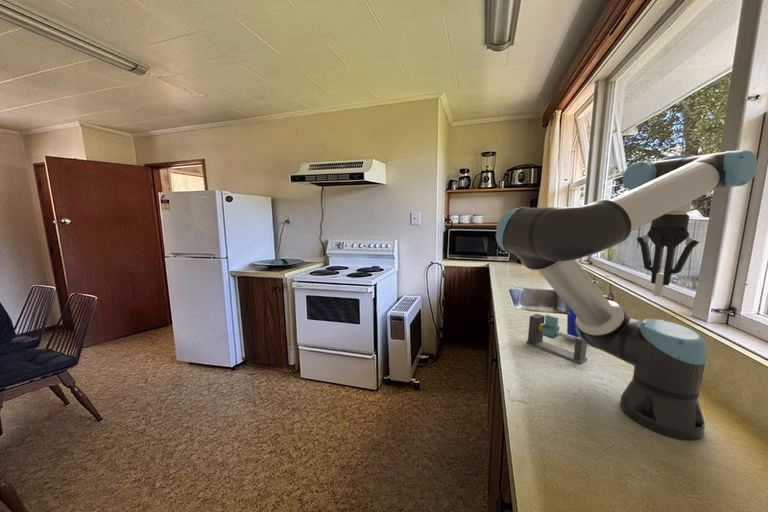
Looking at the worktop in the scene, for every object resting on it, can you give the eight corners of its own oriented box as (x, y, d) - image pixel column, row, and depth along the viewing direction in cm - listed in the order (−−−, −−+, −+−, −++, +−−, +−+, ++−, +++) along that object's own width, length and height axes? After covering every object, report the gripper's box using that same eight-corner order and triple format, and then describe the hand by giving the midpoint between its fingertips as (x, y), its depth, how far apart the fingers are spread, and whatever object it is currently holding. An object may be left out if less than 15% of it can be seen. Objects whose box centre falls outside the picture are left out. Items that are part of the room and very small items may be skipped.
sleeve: (558, 336, 108) (560, 317, 106) (552, 339, 105) (554, 319, 104) (547, 332, 111) (549, 313, 110) (541, 335, 109) (543, 315, 108)
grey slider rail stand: (587, 359, 101) (590, 329, 99) (580, 364, 98) (584, 332, 96) (533, 339, 116) (535, 313, 115) (526, 342, 114) (528, 315, 112)
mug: (604, 343, 113) (607, 318, 112) (573, 343, 113) (575, 318, 112) (590, 334, 121) (592, 311, 120) (560, 334, 122) (563, 311, 120)
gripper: (707, 213, 79) (693, 298, 82) (644, 213, 89) (634, 288, 93) (701, 213, 75) (686, 303, 78) (636, 213, 85) (625, 292, 89)
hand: (658, 295), depth 86 cm, fingers closed
